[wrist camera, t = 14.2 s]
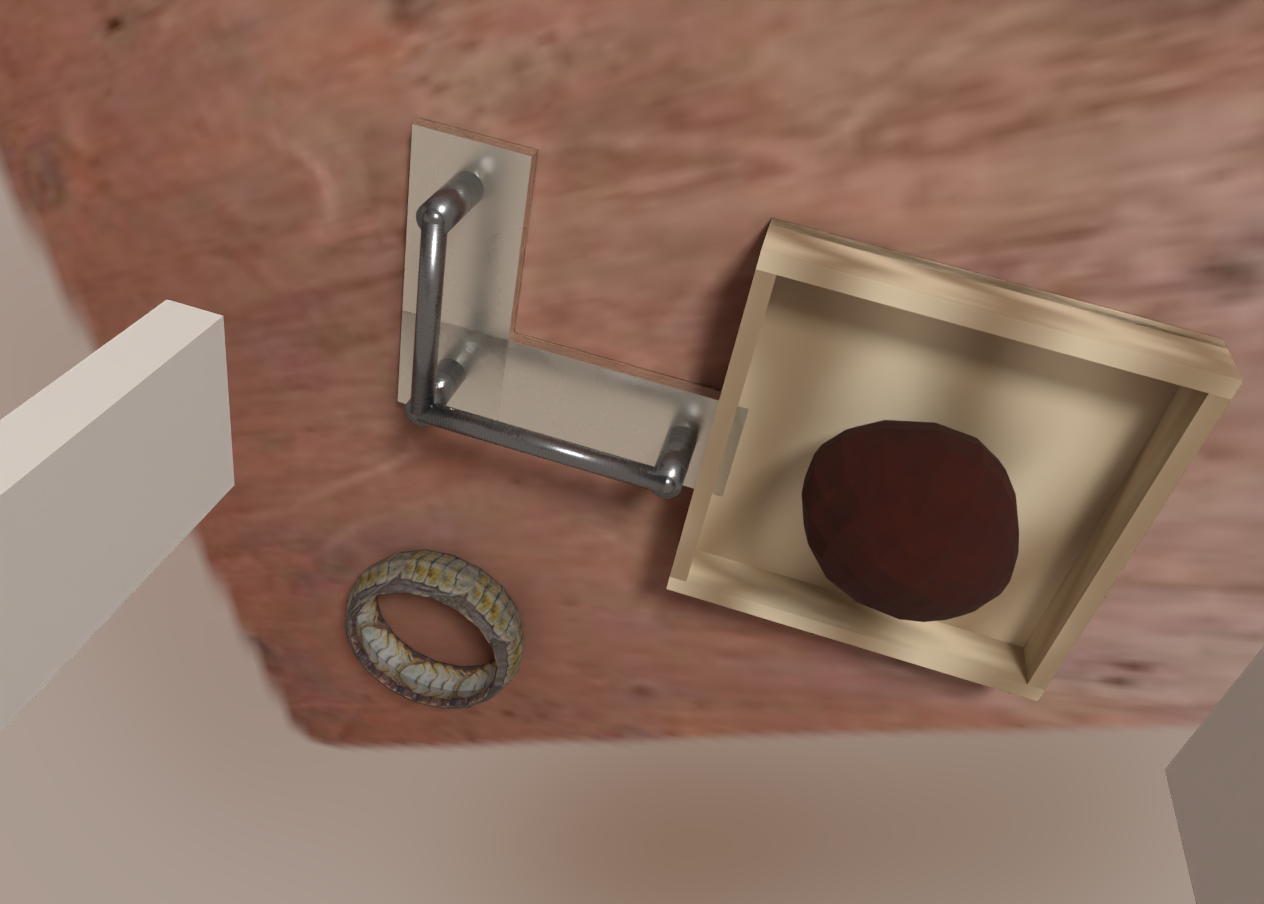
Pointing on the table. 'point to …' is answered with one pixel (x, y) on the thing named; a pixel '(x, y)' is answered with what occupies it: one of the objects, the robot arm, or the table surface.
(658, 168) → the table surface
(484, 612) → the decorative ring
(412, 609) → the table surface
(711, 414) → the corner grab bar
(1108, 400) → the tray
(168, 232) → the table surface
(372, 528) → the table surface
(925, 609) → the dark brown ball
